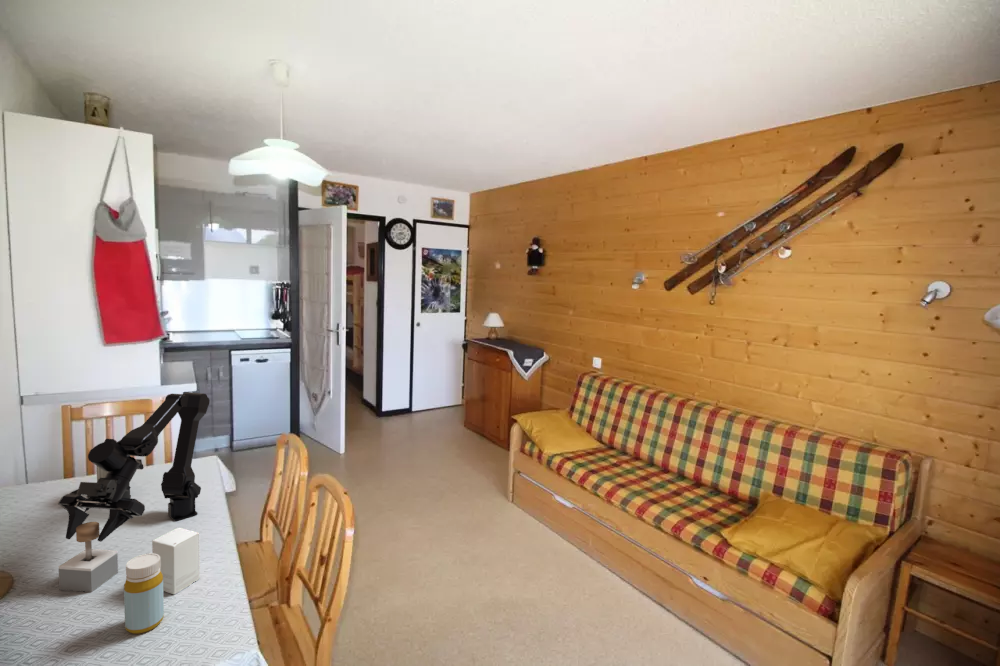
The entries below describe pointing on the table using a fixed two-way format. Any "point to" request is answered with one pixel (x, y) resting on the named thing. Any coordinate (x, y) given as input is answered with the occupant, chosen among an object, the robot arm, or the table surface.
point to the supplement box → (178, 558)
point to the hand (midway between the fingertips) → (83, 540)
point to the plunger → (87, 536)
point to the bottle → (143, 593)
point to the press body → (88, 570)
